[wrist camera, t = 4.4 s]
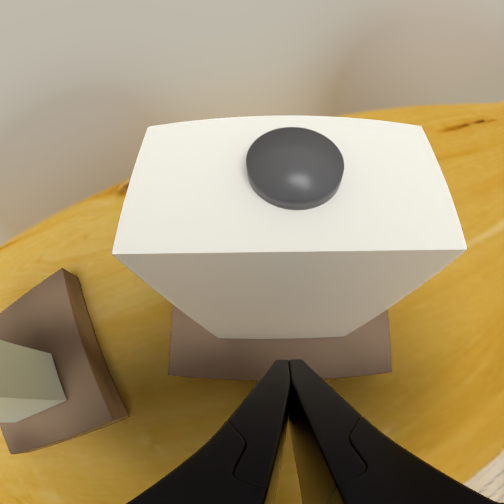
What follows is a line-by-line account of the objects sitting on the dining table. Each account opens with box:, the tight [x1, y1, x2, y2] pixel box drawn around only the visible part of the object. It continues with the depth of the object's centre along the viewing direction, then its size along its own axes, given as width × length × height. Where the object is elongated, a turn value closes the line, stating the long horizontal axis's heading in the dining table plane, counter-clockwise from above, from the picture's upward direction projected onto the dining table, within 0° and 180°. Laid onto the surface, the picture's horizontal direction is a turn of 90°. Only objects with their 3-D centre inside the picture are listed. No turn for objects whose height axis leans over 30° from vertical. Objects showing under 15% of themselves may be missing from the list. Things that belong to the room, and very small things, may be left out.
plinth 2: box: [168, 305, 392, 380], centre depth 16 cm, size 10×11×2 cm
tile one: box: [112, 116, 467, 339], centre depth 9 cm, size 3×6×10 cm, turn 89°
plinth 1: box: [0, 268, 129, 454], centre depth 14 cm, size 10×11×2 cm
